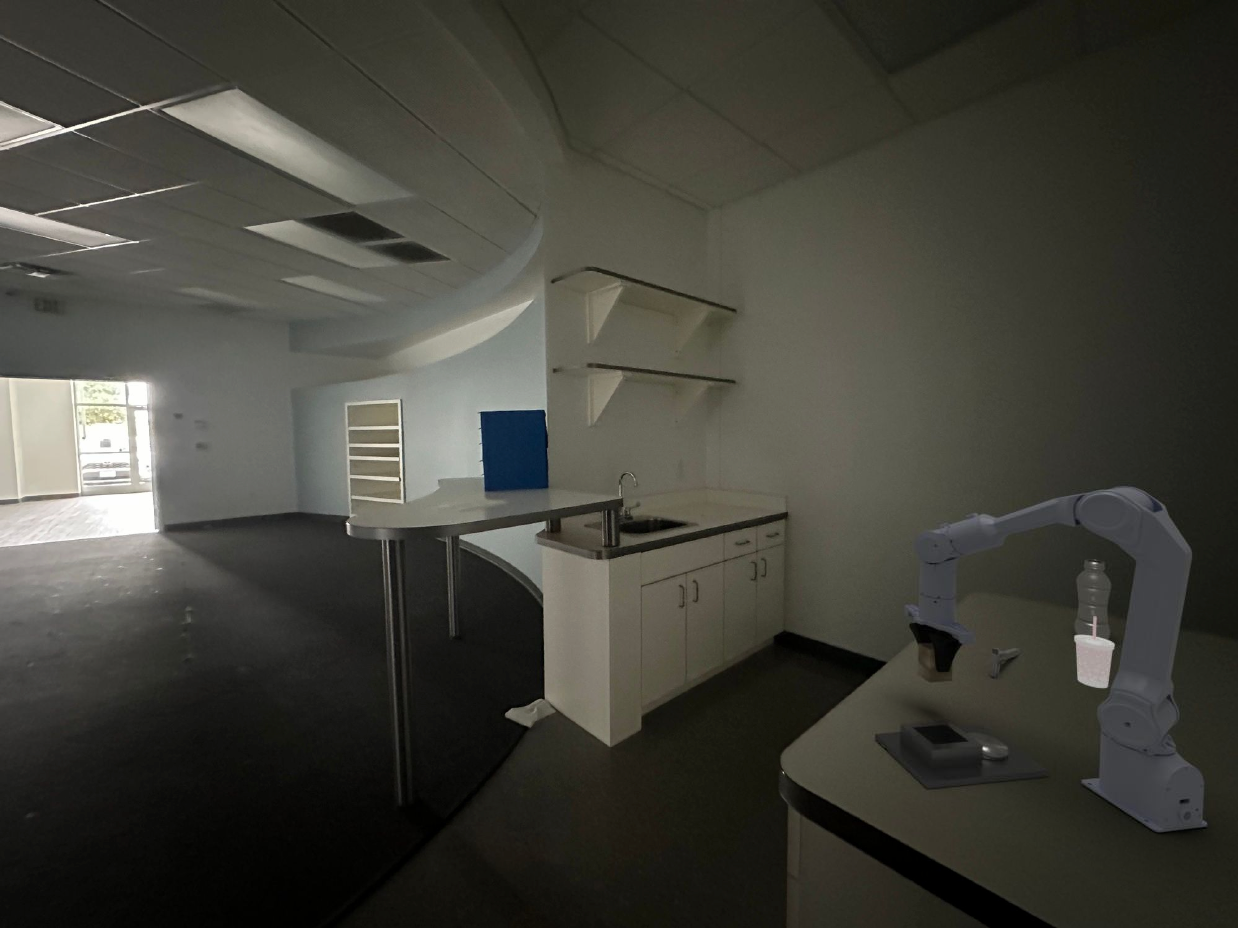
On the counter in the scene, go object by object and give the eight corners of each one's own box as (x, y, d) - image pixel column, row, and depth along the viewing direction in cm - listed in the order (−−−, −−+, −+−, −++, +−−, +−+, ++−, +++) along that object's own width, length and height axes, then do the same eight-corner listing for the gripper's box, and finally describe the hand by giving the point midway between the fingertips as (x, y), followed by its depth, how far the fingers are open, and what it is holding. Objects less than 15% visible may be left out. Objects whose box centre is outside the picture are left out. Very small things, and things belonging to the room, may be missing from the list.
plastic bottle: (1083, 643, 122) (1086, 563, 121) (1068, 633, 129) (1070, 557, 128) (1116, 646, 121) (1119, 565, 120) (1098, 635, 127) (1101, 558, 126)
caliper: (995, 680, 105) (996, 651, 105) (989, 678, 106) (990, 649, 106) (1020, 653, 118) (1021, 627, 118) (1015, 651, 119) (1016, 626, 118)
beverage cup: (1117, 692, 99) (1120, 624, 98) (1076, 685, 102) (1079, 618, 101) (1107, 679, 104) (1110, 614, 103) (1069, 673, 107) (1071, 609, 107)
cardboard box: (952, 680, 91) (952, 648, 90) (929, 682, 90) (930, 650, 90) (939, 673, 94) (940, 642, 93) (917, 674, 93) (918, 643, 93)
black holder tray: (1048, 776, 75) (1049, 750, 75) (927, 788, 72) (927, 762, 72) (981, 730, 87) (981, 707, 86) (875, 739, 84) (875, 716, 84)
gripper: (890, 584, 98) (889, 651, 98) (948, 608, 83) (946, 687, 84) (923, 582, 99) (922, 649, 99) (985, 606, 84) (983, 684, 85)
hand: (935, 666), depth 92 cm, fingers closed on cardboard box, 3 cm apart
